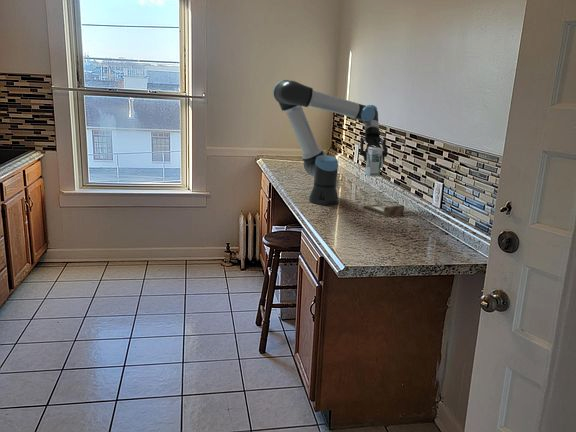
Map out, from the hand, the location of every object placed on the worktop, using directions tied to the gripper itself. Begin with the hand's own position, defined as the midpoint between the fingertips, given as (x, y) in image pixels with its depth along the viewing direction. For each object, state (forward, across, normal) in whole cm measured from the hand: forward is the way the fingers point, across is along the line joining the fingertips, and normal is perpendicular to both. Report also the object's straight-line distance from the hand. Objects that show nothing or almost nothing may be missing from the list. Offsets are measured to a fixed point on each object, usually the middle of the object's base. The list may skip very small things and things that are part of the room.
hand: (374, 166), depth 260 cm
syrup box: (+1, 0, -7) cm, 7 cm away
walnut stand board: (+22, -5, -8) cm, 24 cm away
